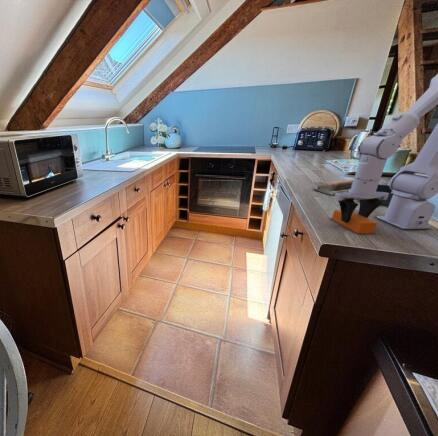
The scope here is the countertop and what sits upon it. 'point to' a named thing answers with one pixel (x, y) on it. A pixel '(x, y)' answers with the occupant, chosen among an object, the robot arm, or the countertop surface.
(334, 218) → the block
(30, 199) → the countertop surface
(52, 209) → the countertop surface
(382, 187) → the dark grey open box
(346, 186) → the packaged product
